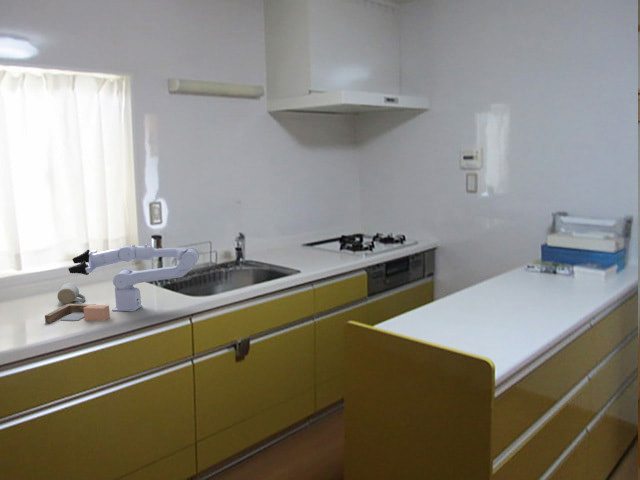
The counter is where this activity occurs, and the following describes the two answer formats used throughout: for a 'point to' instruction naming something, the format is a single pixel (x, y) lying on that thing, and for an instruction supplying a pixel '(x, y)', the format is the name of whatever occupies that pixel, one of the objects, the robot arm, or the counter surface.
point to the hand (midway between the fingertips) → (71, 265)
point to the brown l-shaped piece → (64, 311)
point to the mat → (74, 316)
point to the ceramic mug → (69, 294)
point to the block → (96, 312)
